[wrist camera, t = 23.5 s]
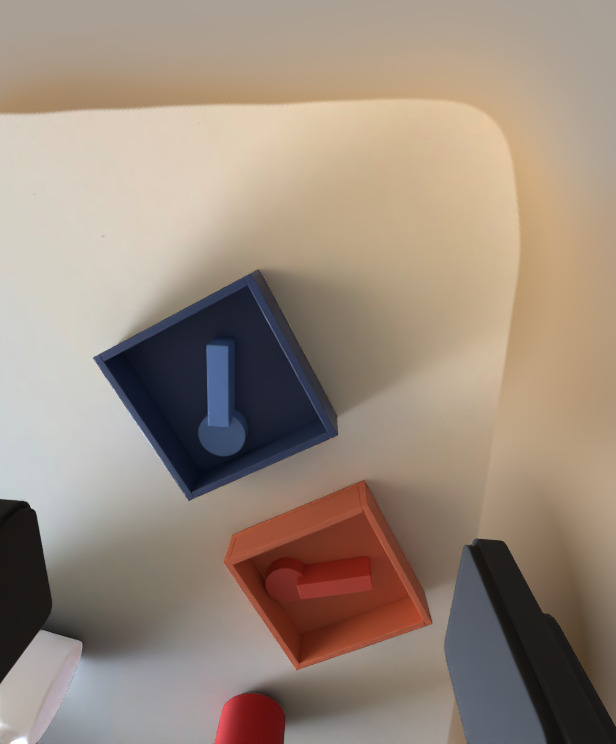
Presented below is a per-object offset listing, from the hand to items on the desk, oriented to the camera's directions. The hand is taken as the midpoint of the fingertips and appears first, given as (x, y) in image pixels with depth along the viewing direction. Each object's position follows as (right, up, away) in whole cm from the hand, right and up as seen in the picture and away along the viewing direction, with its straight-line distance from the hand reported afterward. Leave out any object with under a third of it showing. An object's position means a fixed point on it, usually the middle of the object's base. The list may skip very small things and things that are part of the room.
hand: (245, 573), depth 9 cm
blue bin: (-5, +4, +26) cm, 26 cm away
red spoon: (+2, -14, +30) cm, 33 cm away
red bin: (+3, -13, +31) cm, 33 cm away
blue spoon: (-5, +2, +25) cm, 26 cm away
